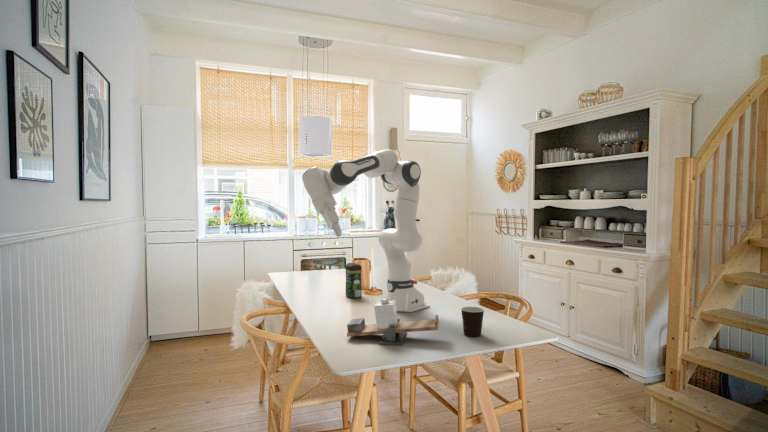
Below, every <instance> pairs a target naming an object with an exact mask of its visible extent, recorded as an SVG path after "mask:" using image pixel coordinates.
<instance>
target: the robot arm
mask: <svg viewBox="0 0 768 432" xmlns="http://www.w3.org/2000/svg"><path fill="white" fill-rule="evenodd" d="M421 173H422V169H421V167H420V165H419V164H418V162H416V161H414V160H399V158H398V154H397V153H396V152H395V151H394V150H393V149H388V148H387V149H381V150H378V151H377V150H376V151H374V152H372V153H369V154H368V155H366V156H364V157H361V158H358V159H355V160H354V159H353V160H345V159H344V160H341V159H340V160H338V161H336V162H335V163H334V164H333V166H332V167H331V168H330V169H322V168H320V167H318V166H316V165H315V166H312V167H309V168H308V169H306V170H305V171H304V173H303V174H302V176H301V177H302V178H301V179H302V182H303V187H305V190H306V192H307V195H309V197H310V198H311V202H312V206H313V207H314V209H315V212H316V213H317V214H319V215H321V217H322V218H323V220H324V221H325V223H326V224H327V226H328V227H329V229H331V230H333V232H334V234H335V235H336V237H337V238H339V237H341V236H342V233H343V232H342V229H341V227H340V223H339V222H340V218H339V216H338V213H337V212H336V205H337V204H338V203H337V201H336V199H335V197H334V195H336V194H338V193H340V192H341V191H343V190H344V189H345V188H346V187H347V186H349V185H351V183H352V182H354V181H355V180H356V179H357V177H358V176H360V175H362V174H364V175H365V177H367V178H370V179H373V178H377V177H381V180H382V182H384V183H385V184H388V185H389V184H390V185H397V188H398V191H397V195H396V197H395V203H394V204H395V205H394V208H393V212H392V213H393V217H394V218H395V220H396V222H397V227H396V228H395V227H394V228H393V227H390V228H386V229H383V230H382V231H380V233H379V234H378V243H379V245H380V247H382V249H383V251H384V253H385V257H386V261H387V268H388V269H387V270H388V278H387V280H386V281H387V283H386V284H387V294H386V295H387V297H386V298H388V299H389V301H393V300H395V302H396V310H397V312H404V313H405V312H406V313H407V312H408V313H411V312H416V311H420V310H422V309H423V310H424V309H425V308H429V307H430V304H429V303H427V302H425V295H424V294H423V293H422V292H421V291H420V290H419V289H417V288H416V286H415V285H417V284H418V280H416V279H412V264H411V262H410V260H409V259H408V258H407V256H406V253H413V252H416V251H418V250H420V248H421V247H422V244H423V238H422V235H421V233H420V232H419V231H418V227H417V223H416V221H417V219H416V218H417V212H418V206H419V199H420V185H419V181H420V178H421ZM414 284H415V285H414Z"/></svg>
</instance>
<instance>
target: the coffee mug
mask: <svg viewBox="0 0 768 432" xmlns="http://www.w3.org/2000/svg"><path fill="white" fill-rule="evenodd" d="M484 312H485V309H483V308H482V307H479V306H478V307H477V306H463V307H461V318H462V329H463V335H464V337H468V338H479V337H481V335H482V328H483V319H484Z"/></svg>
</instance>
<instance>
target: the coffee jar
mask: <svg viewBox="0 0 768 432" xmlns="http://www.w3.org/2000/svg"><path fill="white" fill-rule="evenodd" d="M345 296H346V297H348V298H349V299H358V298H362V265H360V264H359V263H355V262H348V263H346V265H345Z"/></svg>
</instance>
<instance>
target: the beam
mask: <svg viewBox="0 0 768 432" xmlns="http://www.w3.org/2000/svg"><path fill="white" fill-rule="evenodd" d="M439 321H440V320H439V315H438V314H436V315H435V318H433V319H421V320H409V321H408V320H407V321H400V322H398V325H397V327H396V329H395V333H402V332H406V333H415V332H423V331H424V332H425V331H437V330H439V323H440V322H439ZM346 328H347V332H346V337H347V338H348V337H359V336H361V337H362V336H373V335H383V334H387V329H384V330H377V323H373V324H366V322H365V317H361V318H352V319H350V320H349V322H348V323H347V325H346Z"/></svg>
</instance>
